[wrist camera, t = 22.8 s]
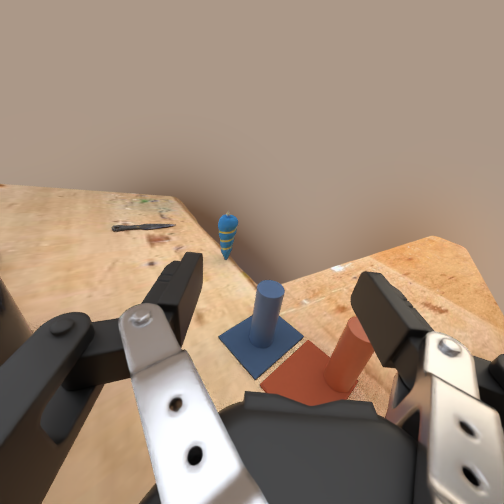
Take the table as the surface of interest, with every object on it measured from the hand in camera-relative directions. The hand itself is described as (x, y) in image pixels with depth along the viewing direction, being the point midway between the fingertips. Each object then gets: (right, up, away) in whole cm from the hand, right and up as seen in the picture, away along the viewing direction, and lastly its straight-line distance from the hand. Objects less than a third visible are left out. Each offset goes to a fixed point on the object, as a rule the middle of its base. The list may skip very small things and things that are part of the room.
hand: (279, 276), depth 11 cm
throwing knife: (-38, +10, +64) cm, 75 cm away
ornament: (-9, -1, +52) cm, 53 cm away
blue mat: (0, -15, +30) cm, 34 cm away
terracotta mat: (+8, -20, +24) cm, 32 cm away
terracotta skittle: (+13, -19, +24) cm, 34 cm away
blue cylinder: (0, -15, +30) cm, 33 cm away
